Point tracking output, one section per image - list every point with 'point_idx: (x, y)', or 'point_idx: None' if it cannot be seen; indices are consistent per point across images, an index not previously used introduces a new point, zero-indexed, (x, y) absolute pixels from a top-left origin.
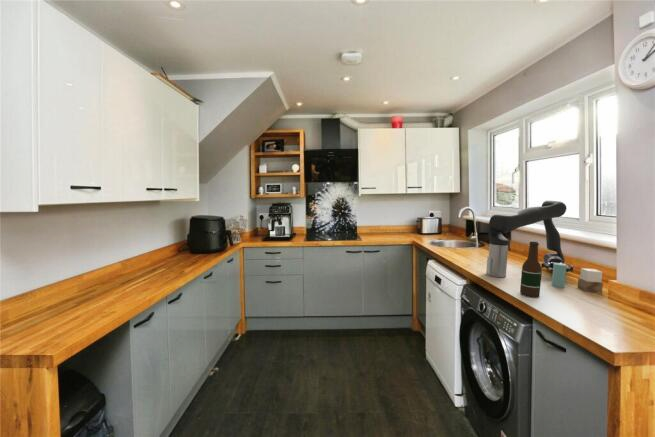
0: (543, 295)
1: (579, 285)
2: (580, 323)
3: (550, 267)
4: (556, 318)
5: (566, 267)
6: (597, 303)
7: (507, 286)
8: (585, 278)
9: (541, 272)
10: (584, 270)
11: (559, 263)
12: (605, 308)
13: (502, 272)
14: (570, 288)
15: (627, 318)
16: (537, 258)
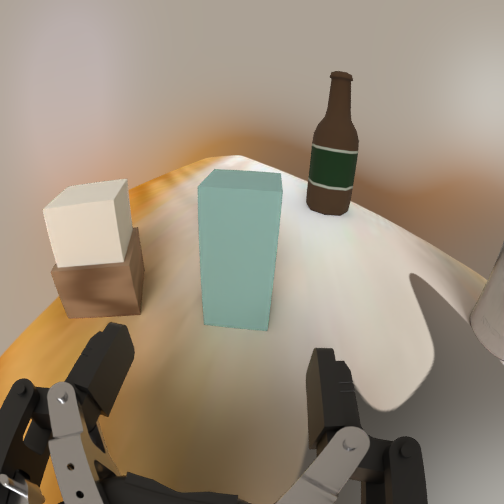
0: (298, 212)
1: (138, 289)
2: (250, 168)
3: (278, 499)
4: (276, 170)
5: (106, 357)
6: (179, 206)
7: (394, 238)
8: (129, 225)
9: (312, 142)
10: (122, 192)
11: (243, 185)
12: (181, 194)
13: (481, 294)
14: (188, 288)
15: (172, 181)
16: (327, 110)
